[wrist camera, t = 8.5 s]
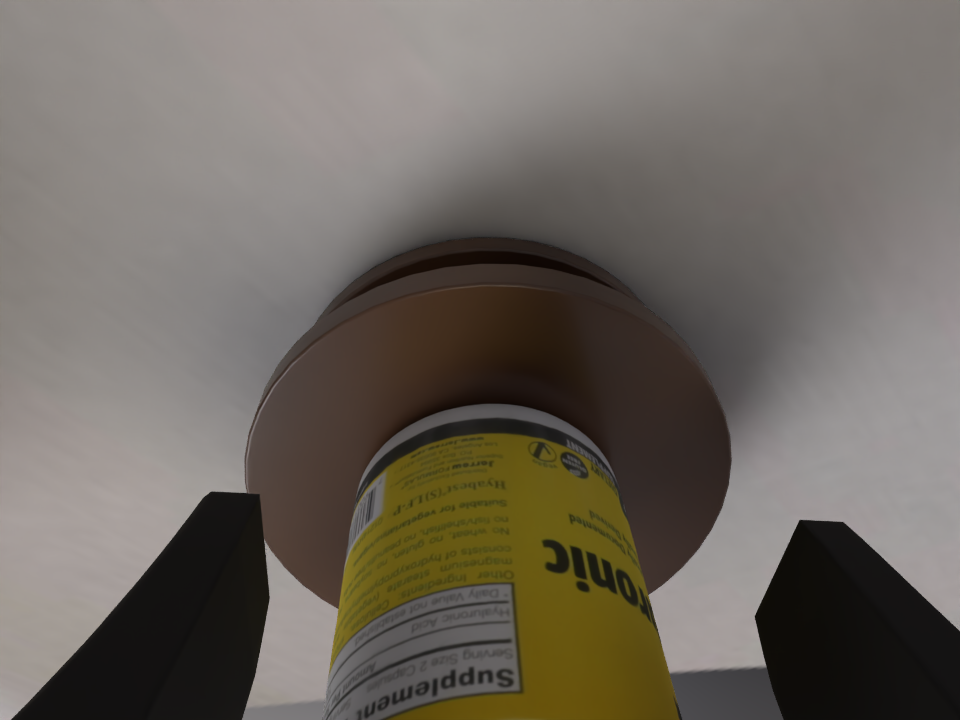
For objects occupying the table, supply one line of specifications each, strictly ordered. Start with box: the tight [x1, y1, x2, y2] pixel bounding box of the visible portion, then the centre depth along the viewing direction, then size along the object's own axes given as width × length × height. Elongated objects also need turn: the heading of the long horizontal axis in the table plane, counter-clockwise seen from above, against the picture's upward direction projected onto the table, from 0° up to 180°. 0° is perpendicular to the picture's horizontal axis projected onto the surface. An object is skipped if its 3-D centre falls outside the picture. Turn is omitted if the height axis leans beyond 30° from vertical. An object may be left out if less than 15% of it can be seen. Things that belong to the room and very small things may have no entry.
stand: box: [245, 238, 732, 609], centre depth 17 cm, size 10×10×3 cm
